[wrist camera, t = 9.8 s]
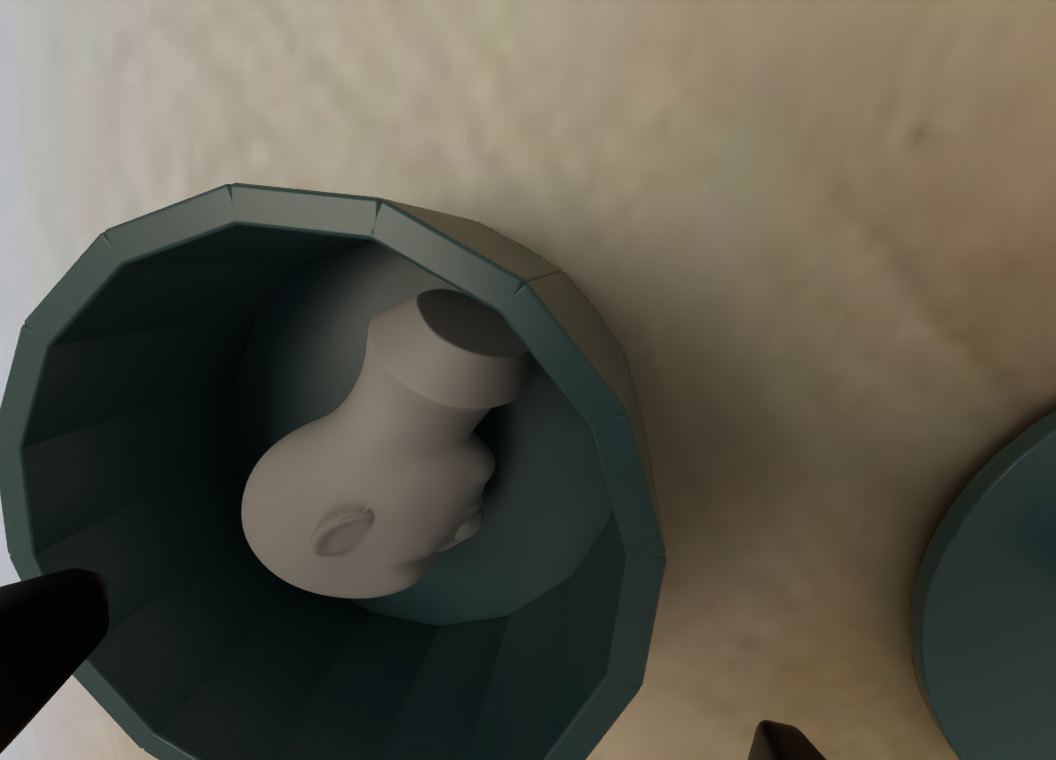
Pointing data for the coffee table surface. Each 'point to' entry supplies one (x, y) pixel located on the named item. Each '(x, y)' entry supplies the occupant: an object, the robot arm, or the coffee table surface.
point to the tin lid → (993, 608)
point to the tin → (277, 410)
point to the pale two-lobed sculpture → (389, 454)
